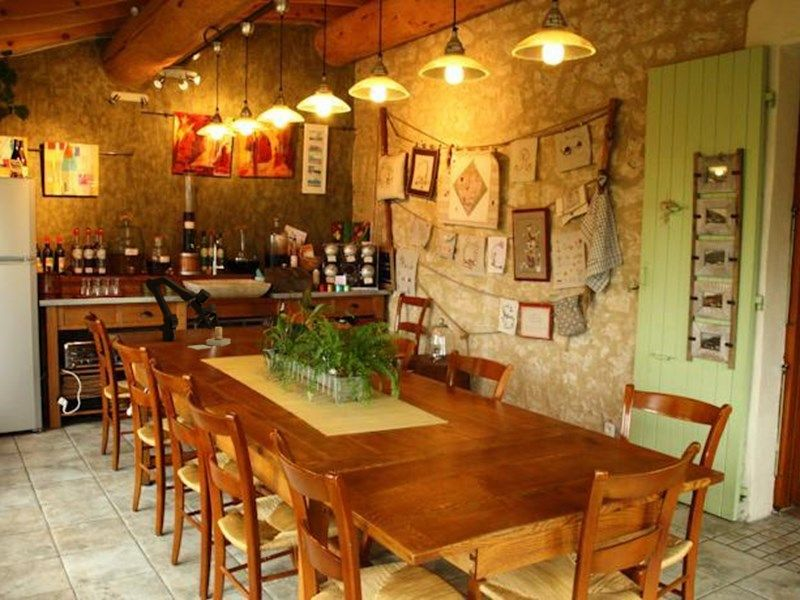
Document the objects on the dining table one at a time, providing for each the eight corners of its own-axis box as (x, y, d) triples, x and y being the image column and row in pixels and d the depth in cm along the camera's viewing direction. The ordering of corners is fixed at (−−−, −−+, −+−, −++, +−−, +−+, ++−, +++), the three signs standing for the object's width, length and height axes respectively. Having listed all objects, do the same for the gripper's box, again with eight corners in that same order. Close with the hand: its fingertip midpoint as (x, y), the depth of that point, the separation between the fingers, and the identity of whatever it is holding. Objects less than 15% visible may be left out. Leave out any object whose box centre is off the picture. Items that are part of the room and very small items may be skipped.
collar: (206, 344, 453) (206, 339, 453) (215, 342, 463) (215, 337, 463) (221, 346, 450) (221, 341, 450) (230, 343, 460) (230, 338, 460)
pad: (187, 347, 443) (187, 346, 443) (202, 345, 450) (202, 344, 450) (196, 349, 436) (196, 348, 436) (212, 348, 443) (212, 347, 443)
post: (213, 344, 455) (213, 327, 454) (217, 343, 459) (217, 326, 458) (219, 345, 454) (219, 328, 453) (223, 344, 458) (223, 327, 457)
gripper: (199, 300, 447) (216, 321, 445) (215, 298, 465) (232, 317, 463) (187, 313, 450) (204, 333, 448) (204, 310, 468) (220, 329, 466)
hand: (215, 328), depth 456 cm, fingers open, 9 cm apart
